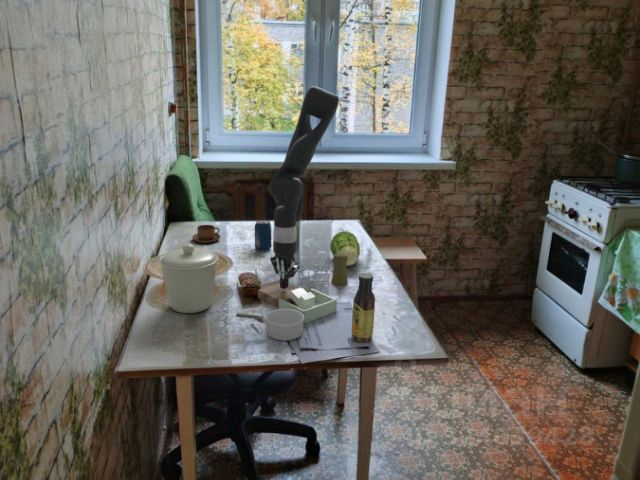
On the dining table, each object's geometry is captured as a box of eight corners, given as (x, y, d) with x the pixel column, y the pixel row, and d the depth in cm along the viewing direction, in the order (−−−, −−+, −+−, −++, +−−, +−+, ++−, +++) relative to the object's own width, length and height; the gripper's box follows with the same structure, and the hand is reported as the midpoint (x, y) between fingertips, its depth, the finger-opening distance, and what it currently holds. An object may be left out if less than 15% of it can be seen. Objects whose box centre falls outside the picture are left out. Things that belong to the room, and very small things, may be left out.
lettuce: (333, 273, 216) (334, 244, 213) (328, 255, 236) (329, 228, 232) (363, 273, 217) (365, 244, 214) (356, 255, 237) (357, 229, 233)
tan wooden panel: (253, 295, 194) (253, 287, 193) (281, 286, 202) (281, 279, 201) (281, 309, 183) (281, 301, 183) (309, 300, 191) (309, 292, 190)
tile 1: (289, 296, 185) (291, 290, 184) (299, 293, 188) (301, 287, 187) (297, 305, 183) (299, 299, 182) (308, 301, 186) (310, 295, 185)
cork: (346, 286, 204) (347, 257, 200) (329, 284, 205) (330, 255, 201) (349, 280, 209) (350, 252, 206) (332, 278, 210) (333, 250, 207)
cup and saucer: (206, 234, 258) (206, 221, 256) (226, 240, 251) (225, 226, 249) (186, 241, 248) (185, 227, 247) (205, 246, 242) (205, 232, 240)
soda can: (273, 247, 243) (273, 220, 240) (268, 252, 237) (269, 224, 233) (257, 245, 244) (257, 218, 241) (252, 251, 238) (252, 223, 234)
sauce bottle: (349, 333, 169) (353, 270, 163) (370, 333, 170) (374, 270, 164) (352, 343, 163) (356, 278, 157) (374, 343, 164) (378, 278, 158)
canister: (157, 299, 188) (154, 238, 182) (212, 292, 195) (210, 233, 189) (166, 322, 172) (163, 256, 166) (225, 314, 179) (224, 250, 173)
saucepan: (240, 322, 174) (240, 305, 172) (306, 326, 173) (306, 309, 171) (232, 340, 163) (232, 322, 162) (302, 344, 162) (302, 326, 160)
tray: (278, 310, 183) (278, 298, 182) (311, 299, 192) (311, 288, 191) (303, 323, 174) (303, 311, 173) (336, 311, 184) (336, 299, 182)
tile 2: (300, 295, 181) (305, 300, 179) (310, 291, 184) (315, 296, 182) (297, 306, 183) (301, 311, 182) (307, 302, 186) (312, 307, 185)
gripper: (263, 235, 187) (263, 284, 193) (288, 245, 178) (288, 297, 183) (280, 231, 192) (280, 279, 197) (306, 241, 183) (305, 291, 188)
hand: (284, 287), depth 190 cm, fingers closed
